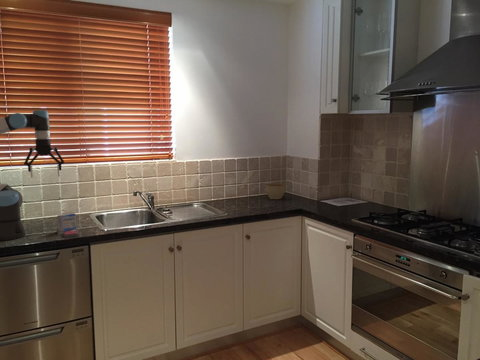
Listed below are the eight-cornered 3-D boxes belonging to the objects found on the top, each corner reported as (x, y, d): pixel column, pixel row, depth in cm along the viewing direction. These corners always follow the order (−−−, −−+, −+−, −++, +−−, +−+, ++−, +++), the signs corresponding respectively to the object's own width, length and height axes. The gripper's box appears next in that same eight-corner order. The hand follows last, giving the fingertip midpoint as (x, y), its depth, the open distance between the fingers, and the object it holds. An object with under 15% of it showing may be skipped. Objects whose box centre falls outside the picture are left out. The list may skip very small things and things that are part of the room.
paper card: (57, 234, 220) (57, 233, 220) (58, 228, 232) (58, 227, 232) (77, 232, 223) (76, 231, 223) (77, 227, 235) (77, 226, 235)
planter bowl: (286, 196, 325) (286, 183, 323) (285, 200, 309) (285, 186, 307) (265, 196, 327) (265, 182, 325) (264, 200, 311) (264, 185, 309)
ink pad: (63, 237, 214) (63, 234, 214) (64, 234, 220) (64, 231, 220) (78, 236, 216) (78, 233, 216) (78, 232, 223) (78, 230, 223)
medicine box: (63, 232, 223) (62, 216, 222) (58, 230, 225) (57, 215, 224) (76, 228, 229) (75, 213, 228) (71, 227, 232) (70, 212, 231)
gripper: (16, 139, 221) (19, 178, 224) (67, 138, 229) (69, 176, 232) (18, 138, 228) (21, 177, 231) (67, 137, 236) (69, 174, 239)
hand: (45, 176), depth 231 cm, fingers open, 13 cm apart
